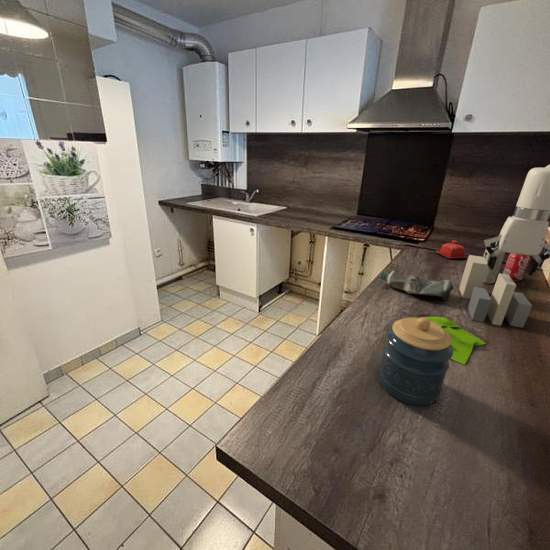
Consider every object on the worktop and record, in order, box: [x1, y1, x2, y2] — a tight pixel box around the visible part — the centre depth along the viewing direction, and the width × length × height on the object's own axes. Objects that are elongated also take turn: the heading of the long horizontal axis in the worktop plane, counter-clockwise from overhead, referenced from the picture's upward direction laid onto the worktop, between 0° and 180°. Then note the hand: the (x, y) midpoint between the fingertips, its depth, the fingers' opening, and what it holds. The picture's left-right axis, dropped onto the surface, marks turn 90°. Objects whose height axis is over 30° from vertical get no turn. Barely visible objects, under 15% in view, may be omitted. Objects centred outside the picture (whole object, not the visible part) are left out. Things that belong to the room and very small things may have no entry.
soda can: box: [502, 253, 531, 282], centre depth 123 cm, size 7×7×12 cm
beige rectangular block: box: [458, 254, 488, 300], centre depth 108 cm, size 5×9×14 cm, turn 156°
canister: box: [378, 316, 453, 406], centre depth 63 cm, size 13×13×18 cm
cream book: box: [486, 272, 517, 327], centre depth 92 cm, size 2×9×14 cm, turn 156°
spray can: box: [482, 232, 507, 285], centre depth 119 cm, size 7×7×20 cm
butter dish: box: [435, 239, 469, 260], centre depth 150 cm, size 12×12×8 cm
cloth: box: [424, 316, 487, 366], centre depth 83 cm, size 20×22×2 cm
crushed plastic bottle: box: [380, 270, 454, 301], centre depth 110 cm, size 13×7×25 cm
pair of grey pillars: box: [467, 287, 533, 329], centre depth 93 cm, size 13×9×8 cm
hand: (509, 270), depth 88 cm, fingers open, 9 cm apart
